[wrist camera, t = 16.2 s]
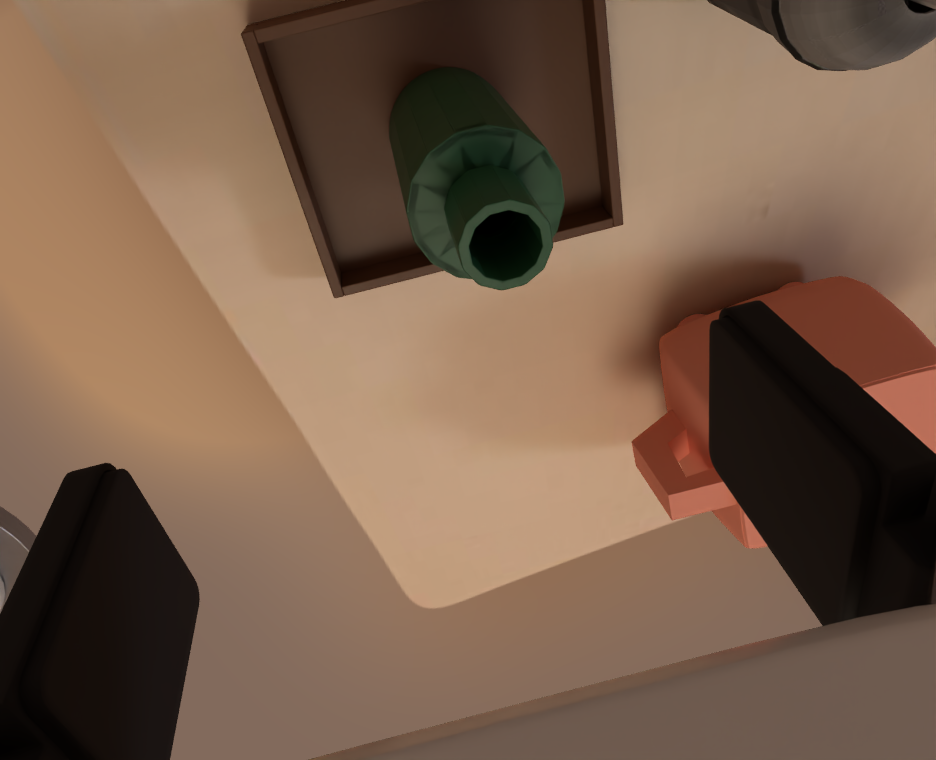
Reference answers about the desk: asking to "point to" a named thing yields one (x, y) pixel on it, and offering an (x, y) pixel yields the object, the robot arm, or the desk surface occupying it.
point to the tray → (380, 83)
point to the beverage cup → (841, 29)
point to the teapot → (834, 336)
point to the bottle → (474, 179)
